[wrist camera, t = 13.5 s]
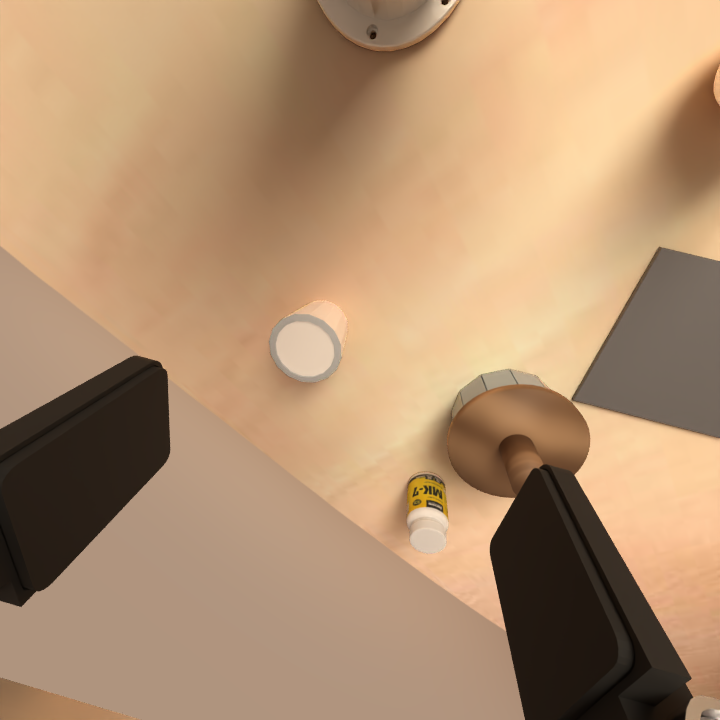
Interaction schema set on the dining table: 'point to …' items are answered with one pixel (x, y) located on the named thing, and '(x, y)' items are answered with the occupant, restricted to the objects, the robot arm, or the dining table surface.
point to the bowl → (493, 385)
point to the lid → (515, 437)
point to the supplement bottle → (427, 512)
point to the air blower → (717, 86)
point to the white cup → (310, 341)
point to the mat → (664, 348)
